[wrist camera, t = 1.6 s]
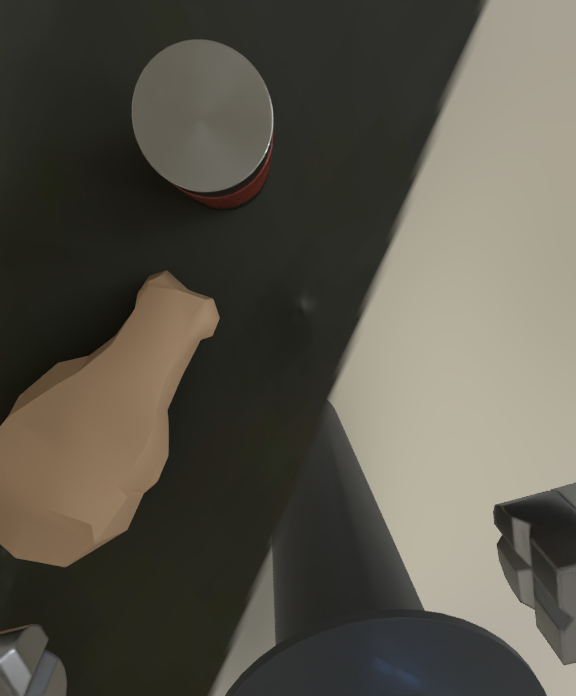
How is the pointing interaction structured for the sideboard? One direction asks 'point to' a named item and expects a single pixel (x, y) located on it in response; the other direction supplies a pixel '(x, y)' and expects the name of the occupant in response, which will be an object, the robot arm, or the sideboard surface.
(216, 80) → the tin
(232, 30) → the sideboard surface
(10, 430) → the squash
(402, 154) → the sideboard surface
